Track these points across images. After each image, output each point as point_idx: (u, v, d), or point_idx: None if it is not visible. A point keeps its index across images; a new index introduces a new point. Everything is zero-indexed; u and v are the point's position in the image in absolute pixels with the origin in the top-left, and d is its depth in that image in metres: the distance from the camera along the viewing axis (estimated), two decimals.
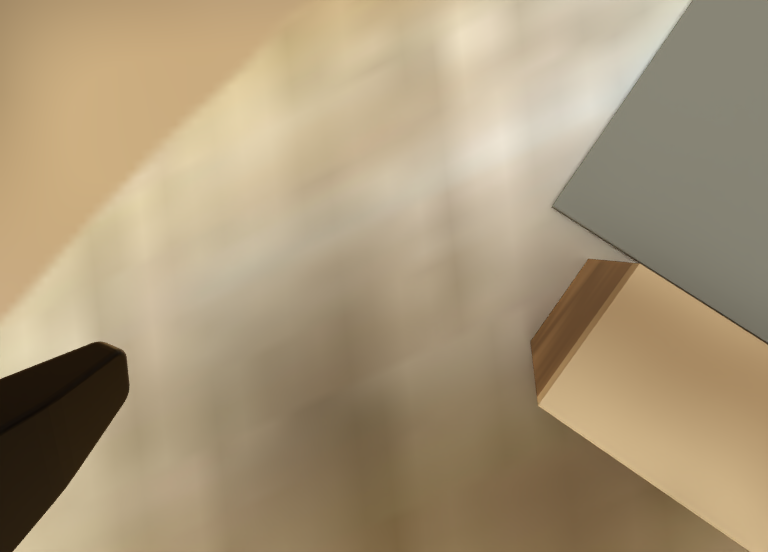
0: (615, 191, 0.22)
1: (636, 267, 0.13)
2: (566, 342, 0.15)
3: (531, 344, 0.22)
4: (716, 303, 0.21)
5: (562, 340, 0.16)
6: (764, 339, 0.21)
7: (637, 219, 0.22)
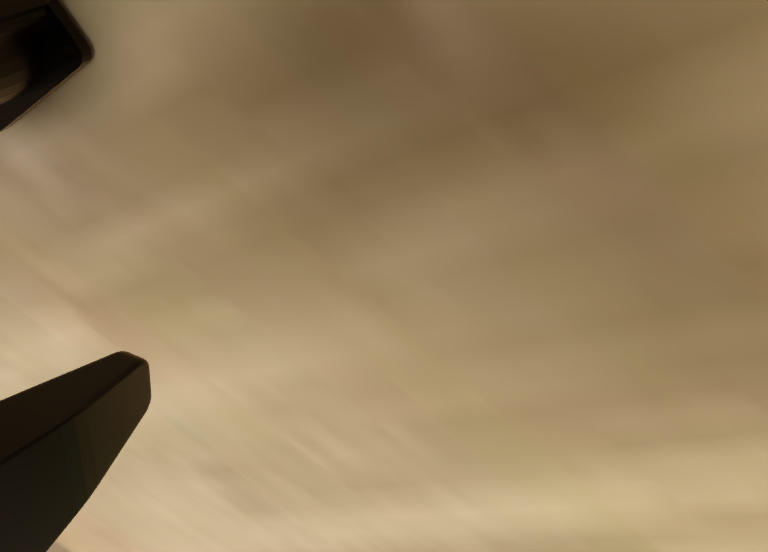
0: None
1: None
2: None
3: None
4: None
5: None
6: None
7: None
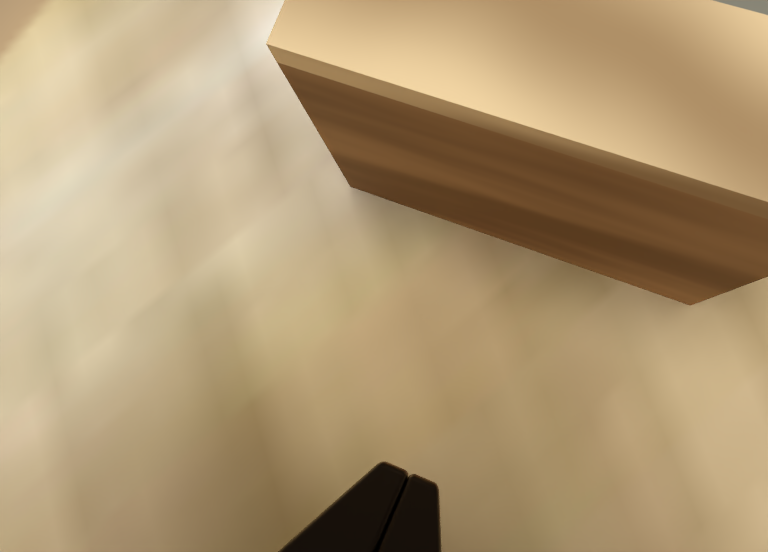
0: None
1: None
2: None
3: (345, 176, 0.22)
4: None
5: None
6: None
7: None
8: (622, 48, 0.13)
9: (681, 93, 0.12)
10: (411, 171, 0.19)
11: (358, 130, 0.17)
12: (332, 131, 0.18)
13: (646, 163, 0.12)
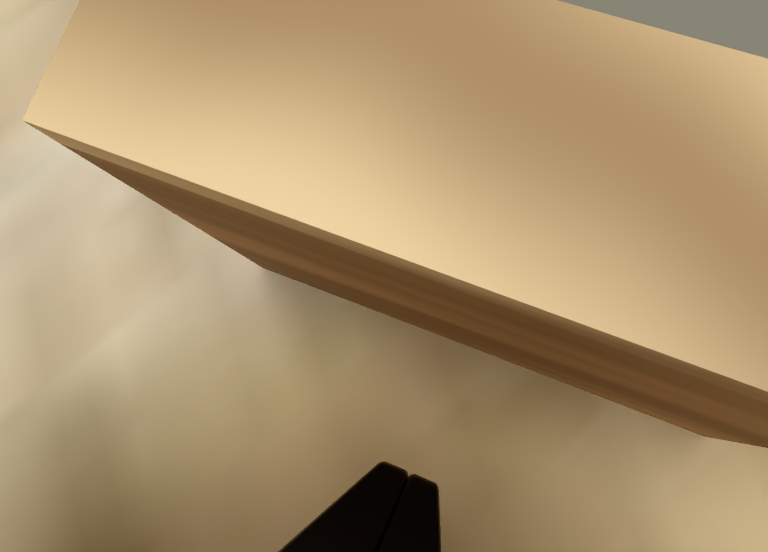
0: None
1: None
2: None
3: (250, 258, 0.17)
4: None
5: None
6: None
7: None
8: (605, 139, 0.07)
9: (708, 221, 0.07)
10: (316, 272, 0.13)
11: (225, 227, 0.12)
12: (198, 222, 0.13)
13: (647, 348, 0.07)
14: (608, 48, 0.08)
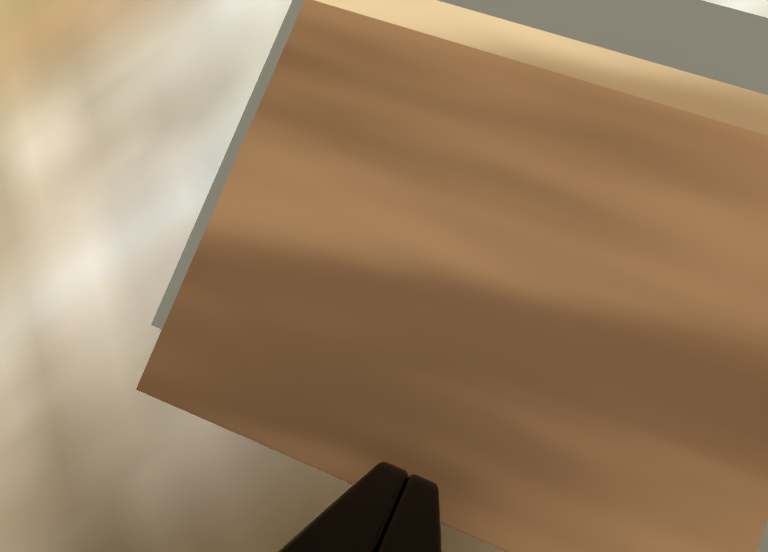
0: None
1: None
2: None
3: (157, 341, 0.14)
4: None
5: None
6: None
7: None
8: None
9: None
10: (338, 235, 0.14)
11: (317, 130, 0.14)
12: (264, 152, 0.14)
13: (675, 70, 0.13)
14: None
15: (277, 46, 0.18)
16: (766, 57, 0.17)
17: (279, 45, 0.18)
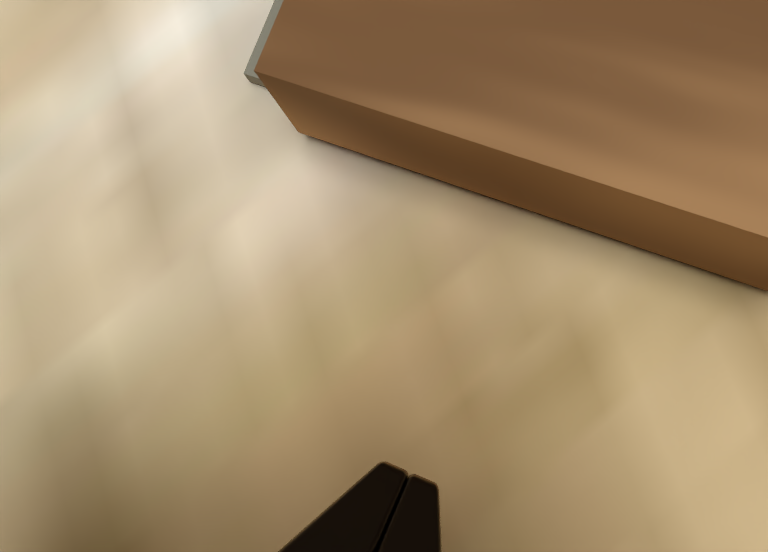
0: None
1: None
2: None
3: (273, 25, 0.14)
4: None
5: None
6: None
7: None
8: None
9: None
10: None
11: None
12: None
13: None
14: None
15: None
16: None
17: None
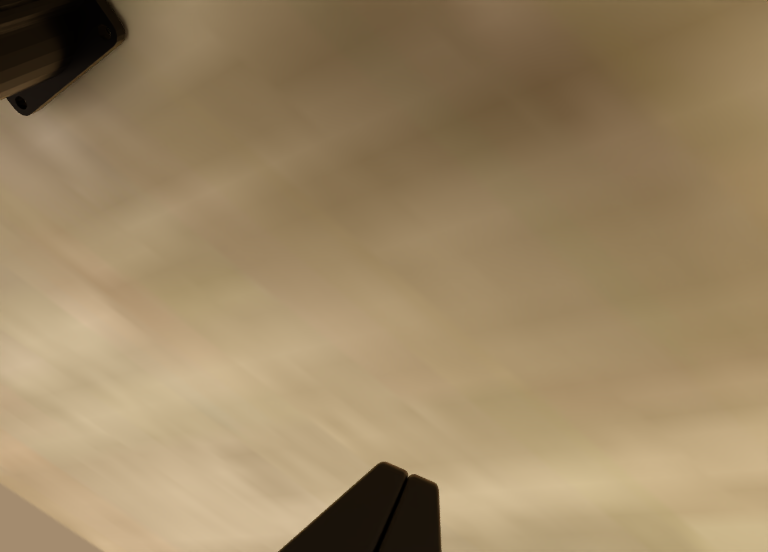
0: None
1: None
2: None
3: None
4: None
5: None
6: None
7: None
8: None
9: None
10: None
11: None
12: None
13: None
14: None
15: None
16: None
17: None
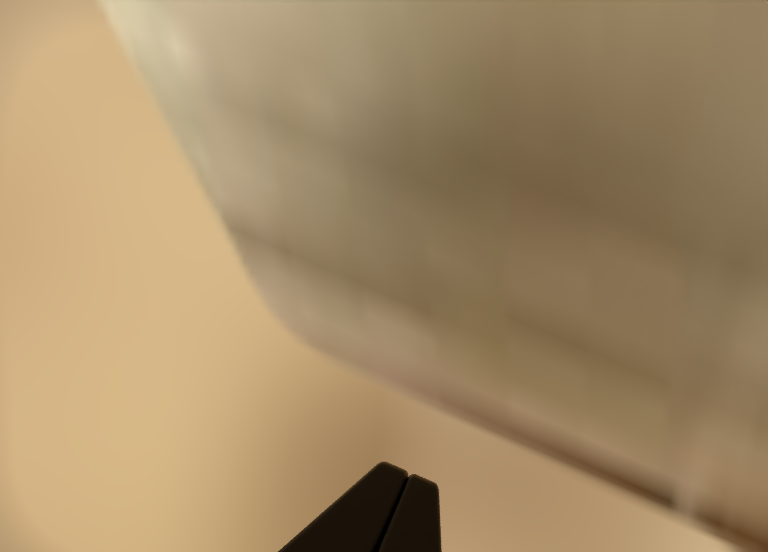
0: None
1: None
2: None
3: None
4: None
5: None
6: None
7: None
8: None
9: None
10: None
11: None
12: None
13: None
14: None
15: None
16: None
17: None
